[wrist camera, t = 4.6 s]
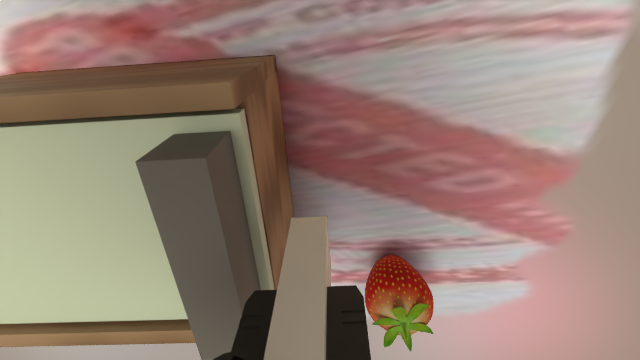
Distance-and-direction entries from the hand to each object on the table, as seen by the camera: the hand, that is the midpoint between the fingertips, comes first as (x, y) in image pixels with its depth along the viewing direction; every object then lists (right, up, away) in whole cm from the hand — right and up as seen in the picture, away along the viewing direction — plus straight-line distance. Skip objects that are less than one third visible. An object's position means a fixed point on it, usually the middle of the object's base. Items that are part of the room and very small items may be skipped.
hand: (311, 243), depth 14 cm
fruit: (+7, -5, +15) cm, 17 cm away
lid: (-11, 0, +3) cm, 12 cm away
